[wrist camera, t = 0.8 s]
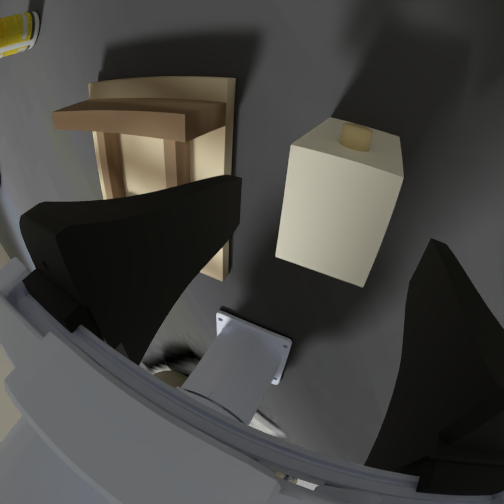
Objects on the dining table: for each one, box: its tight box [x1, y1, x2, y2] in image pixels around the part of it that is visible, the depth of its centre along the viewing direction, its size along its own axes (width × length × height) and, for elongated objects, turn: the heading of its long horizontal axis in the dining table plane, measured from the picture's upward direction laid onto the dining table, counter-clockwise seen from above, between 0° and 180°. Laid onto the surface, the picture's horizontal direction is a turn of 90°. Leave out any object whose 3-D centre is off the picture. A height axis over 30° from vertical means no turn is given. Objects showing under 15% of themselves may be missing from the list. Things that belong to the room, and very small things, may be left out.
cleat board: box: [52, 76, 236, 281], centre depth 21 cm, size 16×14×5 cm
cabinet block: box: [275, 117, 404, 287], centre depth 13 cm, size 6×4×7 cm
